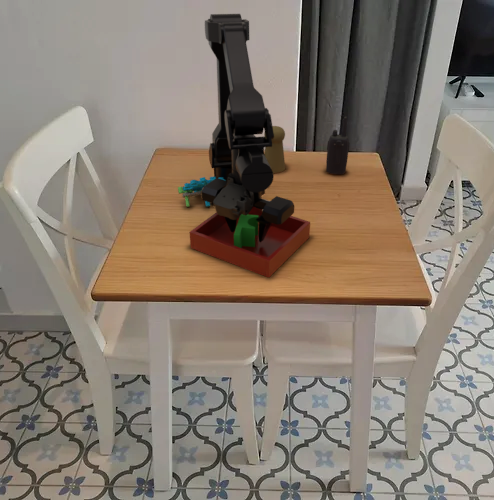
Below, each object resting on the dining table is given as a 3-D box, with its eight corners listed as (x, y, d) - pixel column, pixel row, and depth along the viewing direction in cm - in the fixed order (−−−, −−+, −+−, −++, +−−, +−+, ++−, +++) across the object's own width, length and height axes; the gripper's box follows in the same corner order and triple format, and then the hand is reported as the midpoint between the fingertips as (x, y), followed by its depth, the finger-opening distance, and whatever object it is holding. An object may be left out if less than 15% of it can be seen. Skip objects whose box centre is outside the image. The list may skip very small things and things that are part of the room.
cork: (285, 173, 140) (287, 132, 134) (261, 172, 140) (262, 132, 134) (285, 163, 145) (286, 123, 139) (262, 162, 145) (263, 123, 139)
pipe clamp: (252, 255, 109) (252, 236, 107) (234, 254, 110) (233, 235, 107) (260, 226, 118) (260, 207, 116) (243, 224, 119) (242, 206, 116)
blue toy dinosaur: (226, 184, 131) (223, 170, 121) (230, 207, 130) (228, 196, 120) (180, 192, 131) (174, 179, 121) (184, 215, 130) (178, 205, 120)
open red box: (190, 248, 112) (189, 231, 109) (236, 213, 123) (235, 198, 121) (268, 277, 104) (269, 260, 102) (309, 237, 116) (310, 221, 114)
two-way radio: (346, 170, 143) (352, 114, 134) (346, 178, 139) (352, 121, 131) (325, 168, 143) (329, 113, 135) (324, 176, 139) (329, 120, 131)
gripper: (181, 171, 103) (186, 241, 111) (266, 197, 95) (265, 270, 104) (216, 150, 111) (218, 217, 119) (297, 173, 103) (293, 242, 112)
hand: (247, 236), depth 113 cm, fingers open, 7 cm apart
